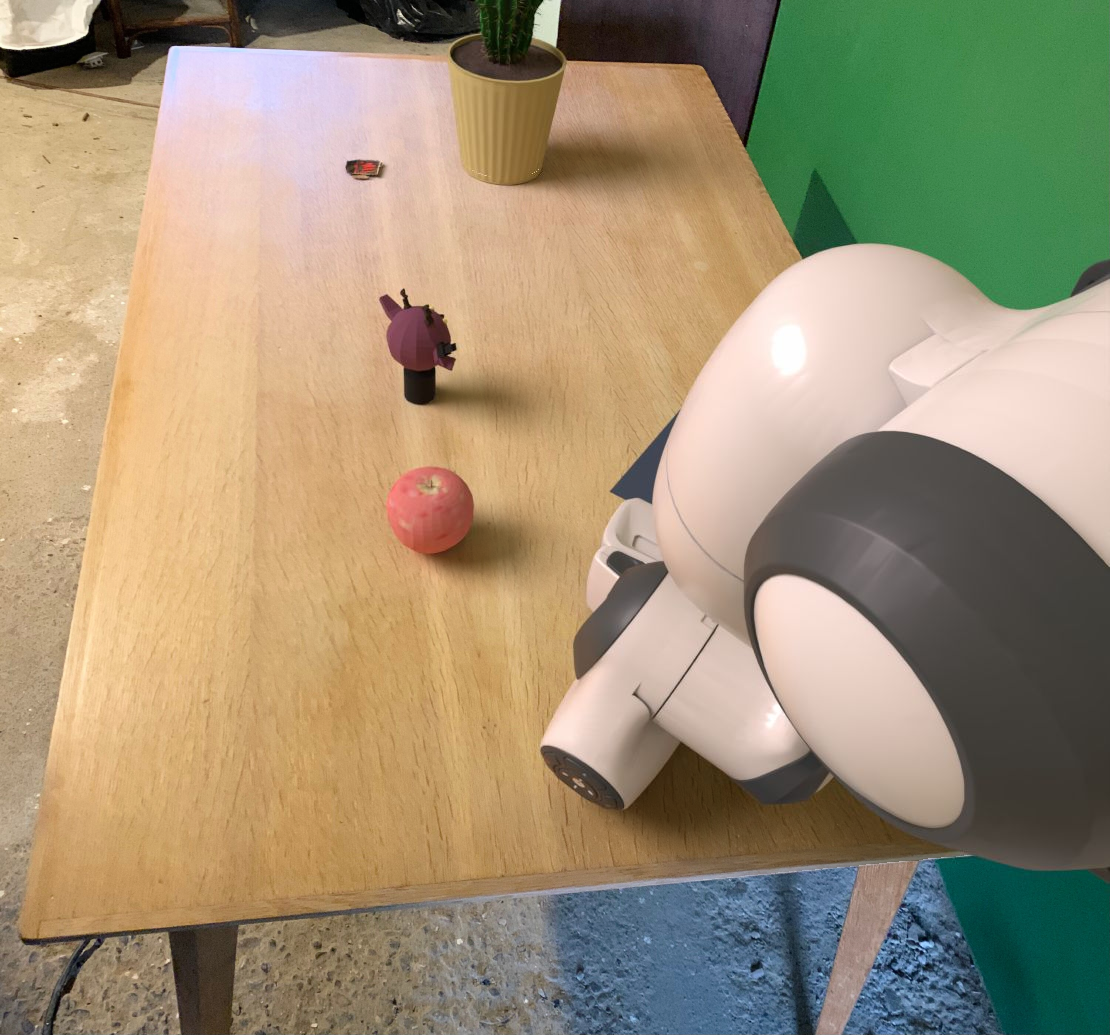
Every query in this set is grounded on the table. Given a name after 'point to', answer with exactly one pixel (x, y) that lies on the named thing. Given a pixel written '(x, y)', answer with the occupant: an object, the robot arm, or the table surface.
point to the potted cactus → (504, 93)
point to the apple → (430, 509)
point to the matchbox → (363, 167)
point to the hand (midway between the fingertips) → (752, 524)
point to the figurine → (418, 346)
